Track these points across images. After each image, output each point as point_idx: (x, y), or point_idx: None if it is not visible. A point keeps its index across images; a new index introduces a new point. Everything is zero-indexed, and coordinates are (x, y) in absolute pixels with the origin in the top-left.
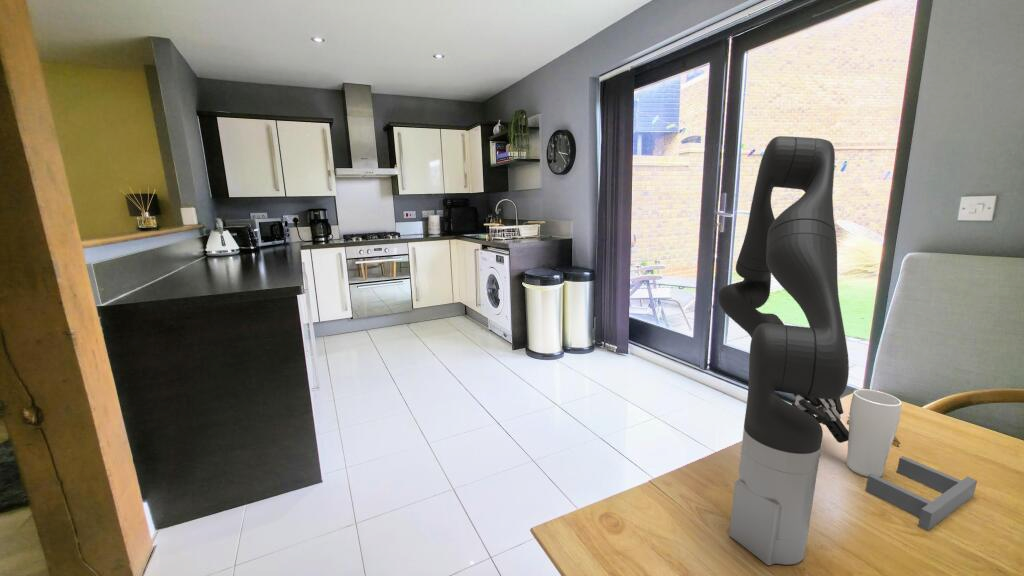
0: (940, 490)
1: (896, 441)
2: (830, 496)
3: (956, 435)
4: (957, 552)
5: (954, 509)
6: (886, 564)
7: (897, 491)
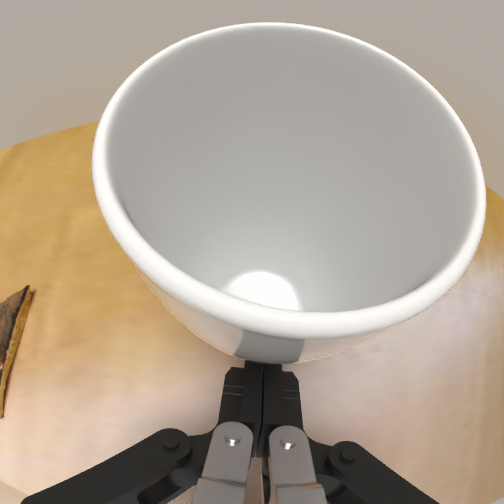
0: None
1: (24, 294)
2: (451, 313)
3: None
4: None
5: None
6: (498, 198)
7: None
